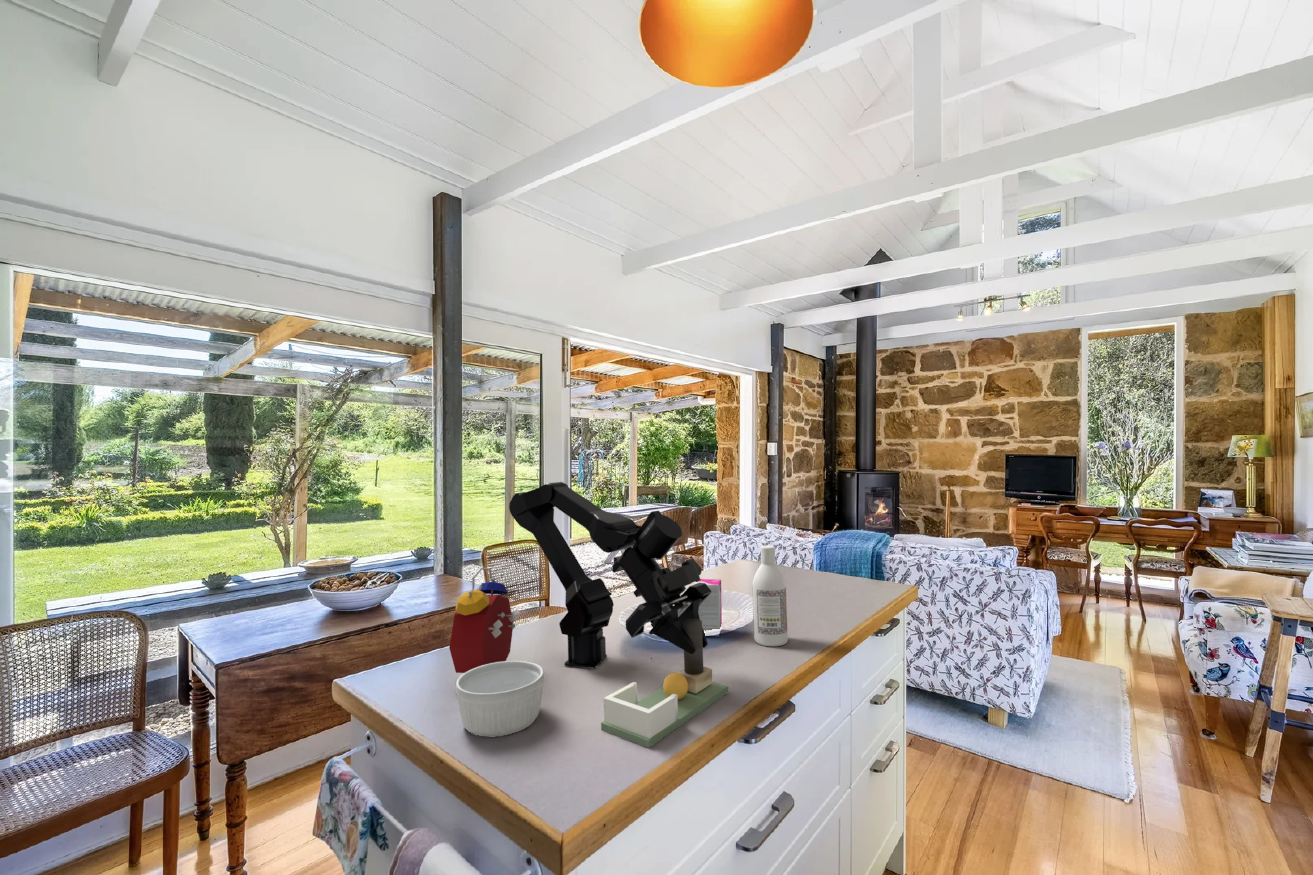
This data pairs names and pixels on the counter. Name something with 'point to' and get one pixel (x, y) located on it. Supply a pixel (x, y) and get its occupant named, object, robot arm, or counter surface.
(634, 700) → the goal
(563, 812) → the counter surface
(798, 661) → the counter surface
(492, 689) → the ramekin
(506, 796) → the counter surface
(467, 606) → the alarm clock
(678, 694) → the ball
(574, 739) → the counter surface
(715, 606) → the supplement box
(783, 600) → the bath foam
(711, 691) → the board
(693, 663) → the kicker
